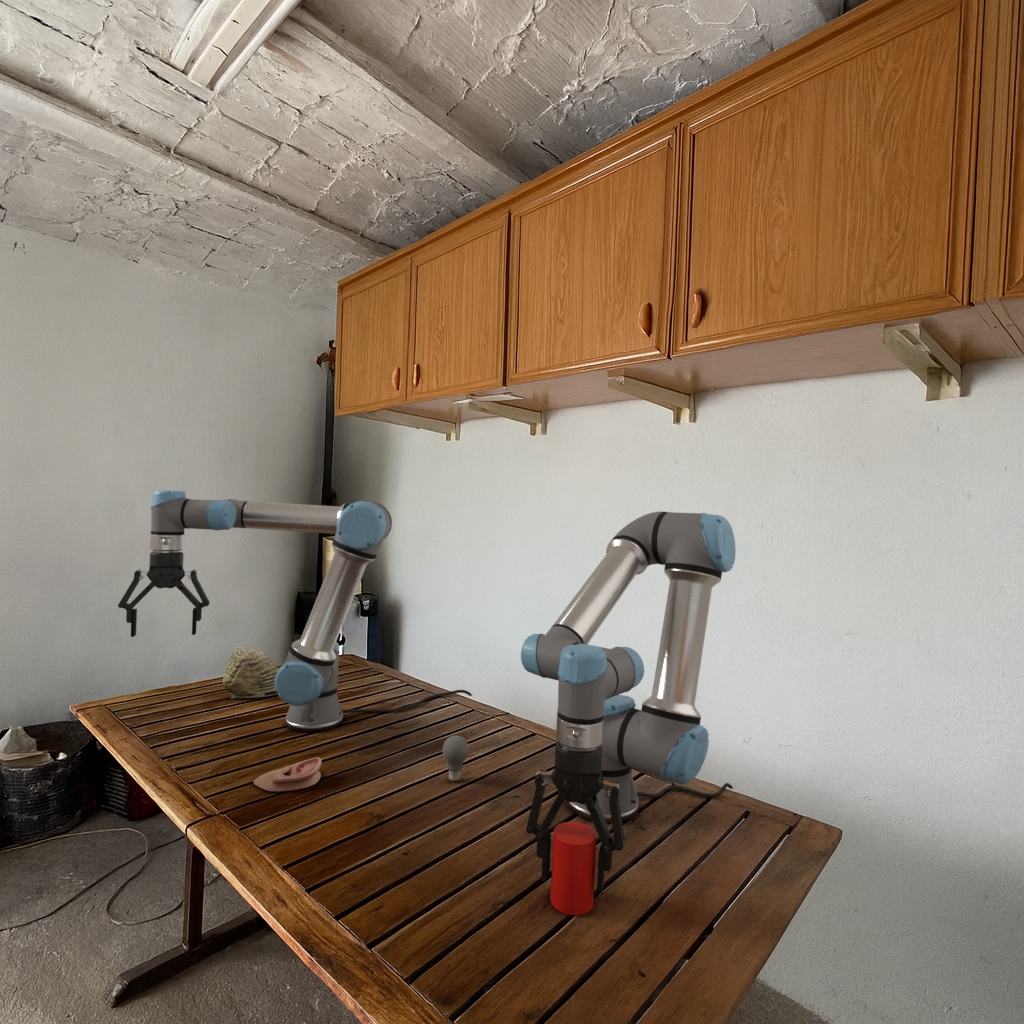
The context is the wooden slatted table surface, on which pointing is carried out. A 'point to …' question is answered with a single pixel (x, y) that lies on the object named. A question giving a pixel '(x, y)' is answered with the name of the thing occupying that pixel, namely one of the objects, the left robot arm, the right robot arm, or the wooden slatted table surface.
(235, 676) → the fossil
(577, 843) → the canister
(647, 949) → the wooden slatted table surface
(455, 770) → the light bulb
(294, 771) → the anatomical model
